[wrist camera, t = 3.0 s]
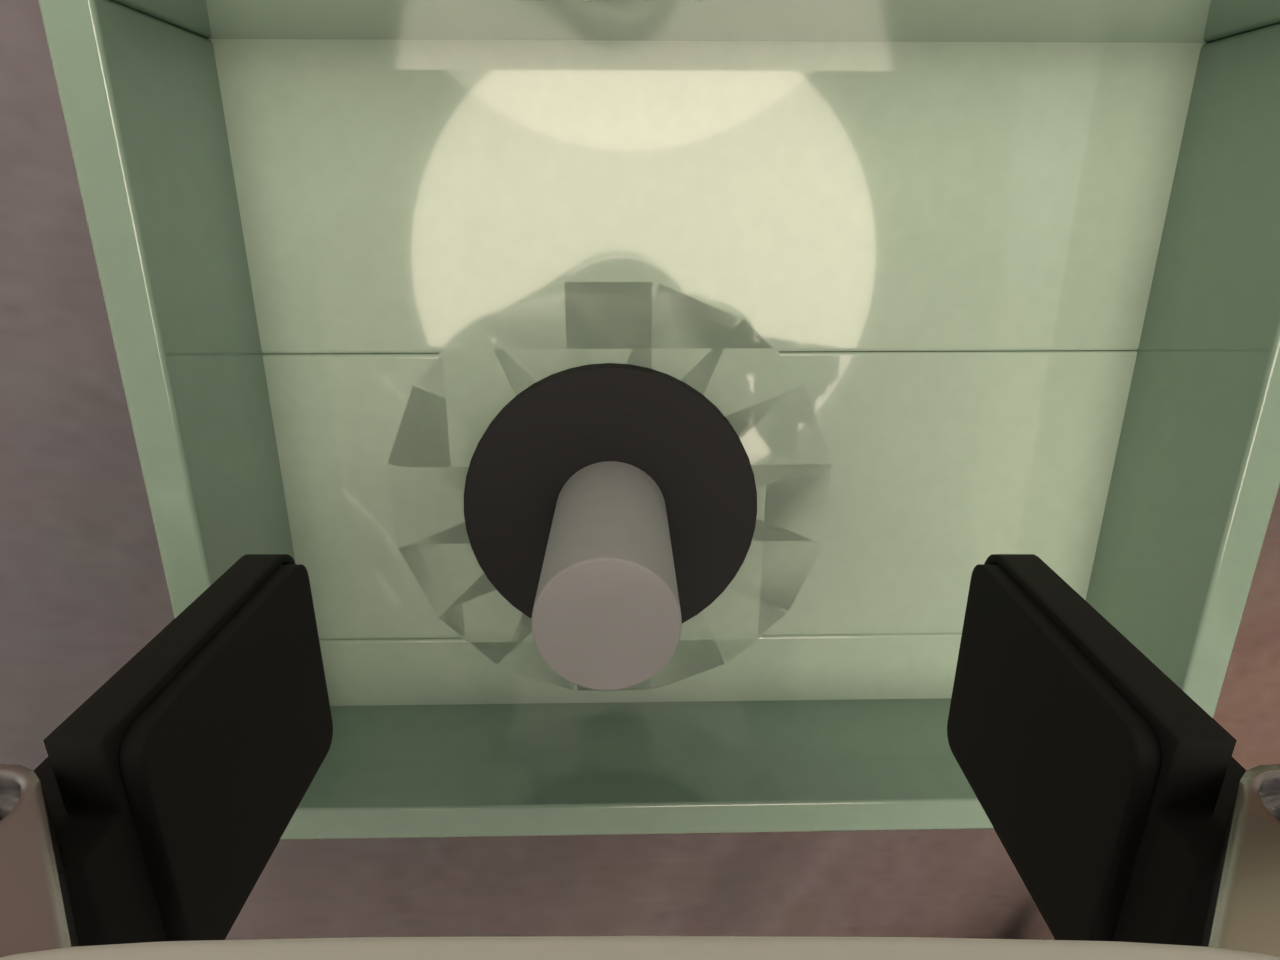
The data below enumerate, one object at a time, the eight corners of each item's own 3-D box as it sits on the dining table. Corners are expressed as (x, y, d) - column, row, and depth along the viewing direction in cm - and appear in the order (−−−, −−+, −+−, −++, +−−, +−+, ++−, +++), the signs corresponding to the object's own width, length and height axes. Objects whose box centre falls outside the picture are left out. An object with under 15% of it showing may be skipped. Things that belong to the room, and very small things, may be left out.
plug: (742, 610, 20) (794, 788, 14) (483, 613, 19) (422, 793, 14) (754, 354, 17) (822, 431, 12) (464, 355, 17) (382, 434, 11)
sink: (1070, 700, 21) (1184, 827, 17) (305, 709, 20) (222, 842, 16) (1216, 7, 16) (1439, -68, 11) (188, 2, 15) (18, -77, 11)
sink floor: (1070, 700, 21) (1091, 723, 20) (305, 709, 20) (290, 734, 19) (1216, 7, 16) (1255, -6, 15) (188, 2, 15) (159, -12, 14)
